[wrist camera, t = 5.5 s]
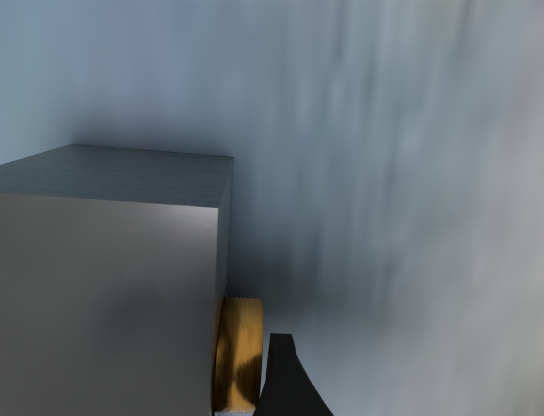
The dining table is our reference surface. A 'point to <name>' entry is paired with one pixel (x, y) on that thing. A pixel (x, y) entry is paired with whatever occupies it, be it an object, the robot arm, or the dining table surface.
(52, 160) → the hitch beam
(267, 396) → the robot arm
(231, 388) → the lynch pin
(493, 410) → the dining table surface
